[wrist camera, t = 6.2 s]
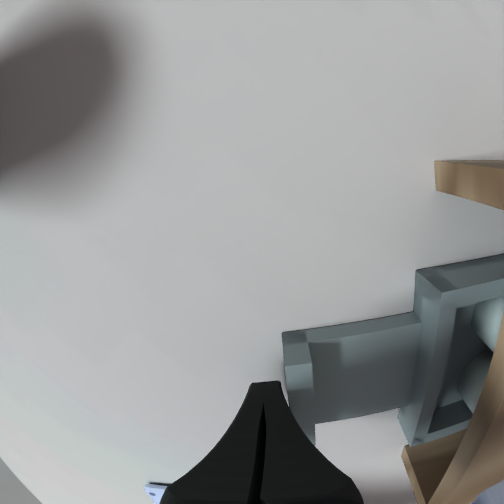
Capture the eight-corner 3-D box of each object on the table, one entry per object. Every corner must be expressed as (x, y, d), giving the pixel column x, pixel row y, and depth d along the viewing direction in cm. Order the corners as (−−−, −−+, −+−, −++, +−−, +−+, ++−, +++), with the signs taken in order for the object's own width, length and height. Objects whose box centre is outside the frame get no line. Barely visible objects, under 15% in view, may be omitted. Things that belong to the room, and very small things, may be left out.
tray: (513, 377, 14) (540, 409, 11) (293, 436, 15) (296, 488, 12) (544, 245, 12) (587, 266, 8) (276, 290, 13) (280, 338, 9)
